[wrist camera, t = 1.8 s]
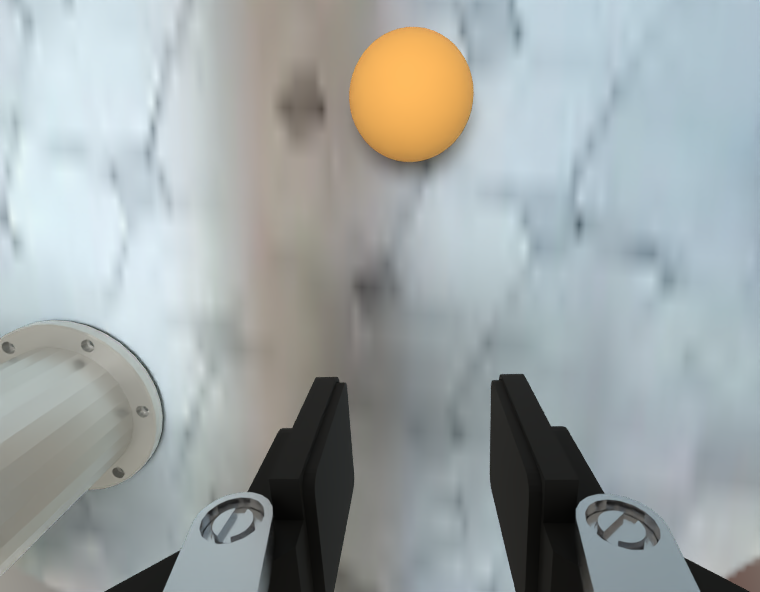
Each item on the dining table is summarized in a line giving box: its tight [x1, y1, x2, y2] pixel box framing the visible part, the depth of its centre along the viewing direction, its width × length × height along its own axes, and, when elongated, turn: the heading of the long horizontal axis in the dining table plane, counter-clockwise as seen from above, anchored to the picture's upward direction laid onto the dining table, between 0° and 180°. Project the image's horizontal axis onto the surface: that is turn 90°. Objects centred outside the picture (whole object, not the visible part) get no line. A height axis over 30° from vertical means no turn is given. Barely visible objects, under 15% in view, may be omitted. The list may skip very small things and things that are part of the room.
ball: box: [349, 27, 473, 162], centre depth 22 cm, size 6×6×6 cm
